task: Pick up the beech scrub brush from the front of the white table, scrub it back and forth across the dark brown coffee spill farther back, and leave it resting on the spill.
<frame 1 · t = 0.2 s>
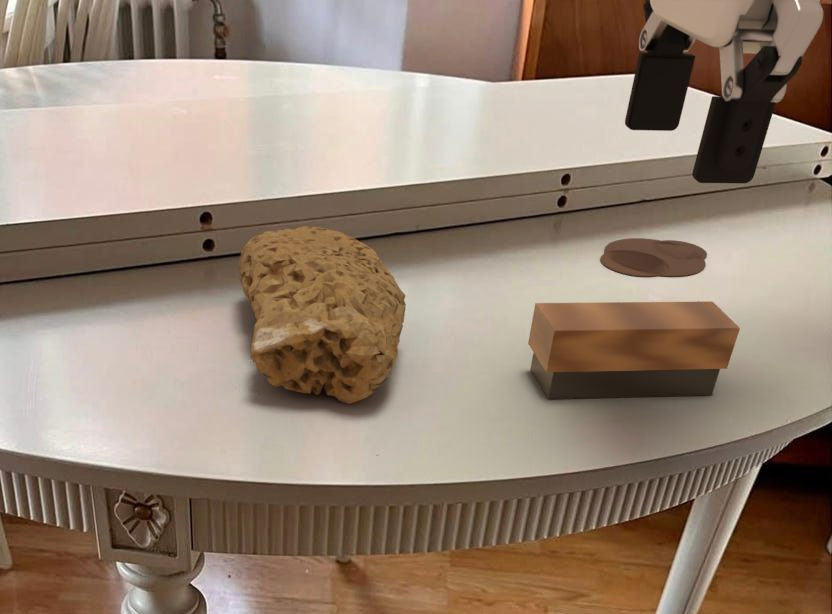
hand: (683, 153, 56), 17 cm above the table, tool pointing down, fingers open, 9 cm apart
sponge: (313, 345, 73), on the table
brush: (620, 382, 71), on the table
coffee spill: (654, 257, 90), on the table
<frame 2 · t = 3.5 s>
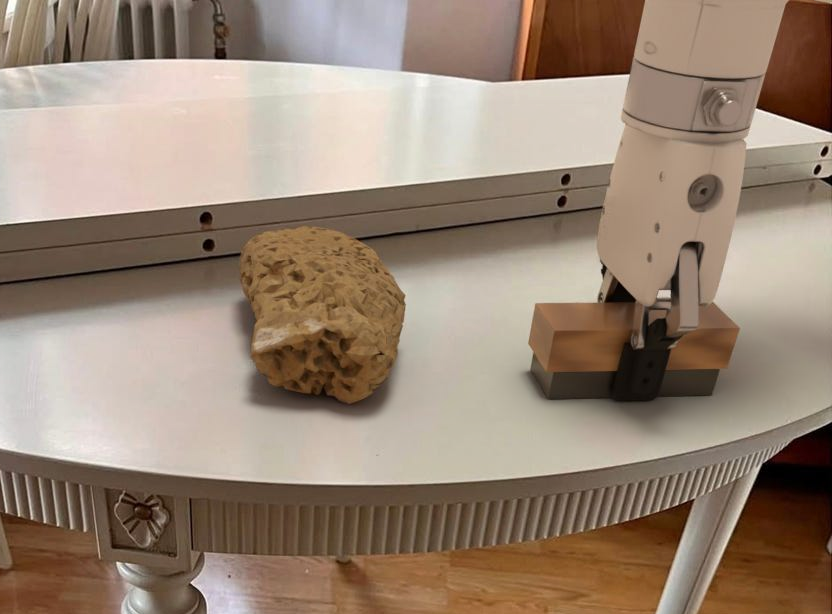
hand: (621, 377, 71), 0 cm above the table, tool pointing down, fingers closed on brush, 4 cm apart
brush: (620, 382, 71), on the table, touching gripper
everything else where it was.
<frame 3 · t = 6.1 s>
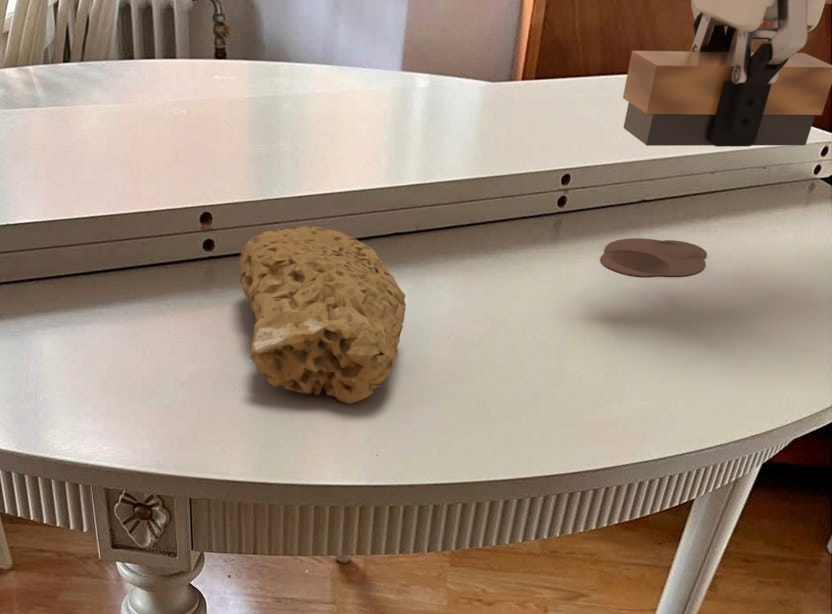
hand: (715, 131, 71), 14 cm above the table, tool pointing down, fingers closed on brush, 4 cm apart
brush: (713, 136, 71), point 14 cm above the table, touching gripper
everything else where it was.
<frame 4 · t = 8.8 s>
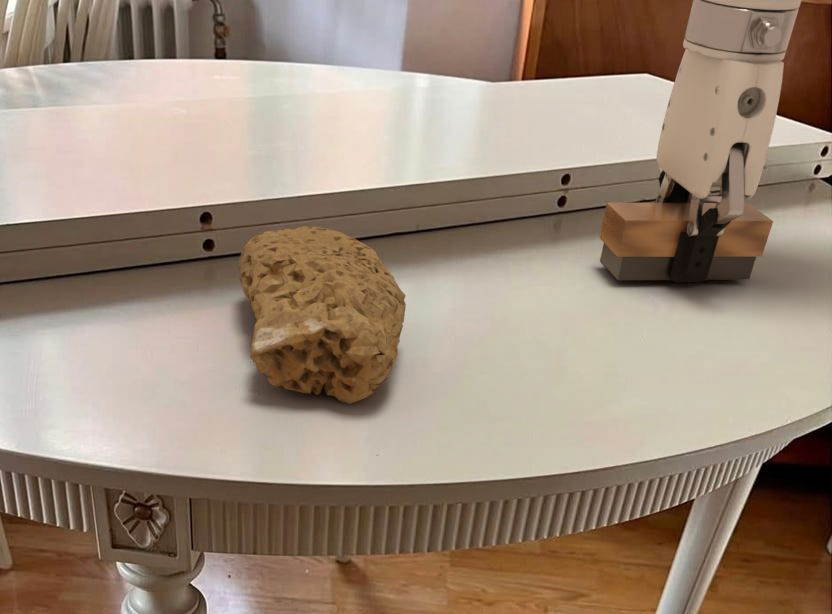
hand: (675, 266, 86), 1 cm above the table, tool pointing down, fingers closed on brush, 4 cm apart
brush: (673, 270, 87), point 1 cm above the table, touching gripper
everything else where it was.
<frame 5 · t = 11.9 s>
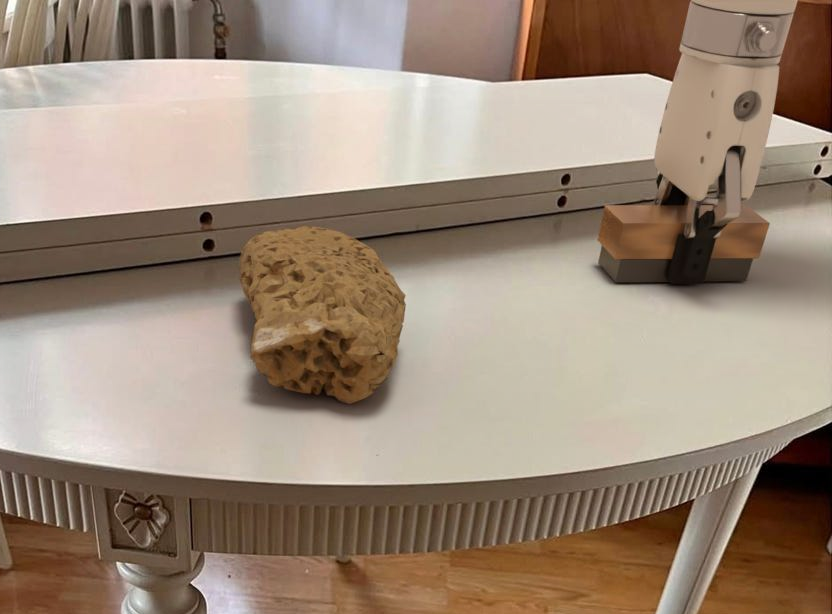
hand: (673, 268, 87), 0 cm above the table, tool pointing down, fingers closed on brush, 4 cm apart
brush: (671, 272, 87), on the table, touching gripper
everything else where it was.
when the fingers open (0 cm above the table, at t = 14.2 s): brush stays where it is, resting on coffee spill.
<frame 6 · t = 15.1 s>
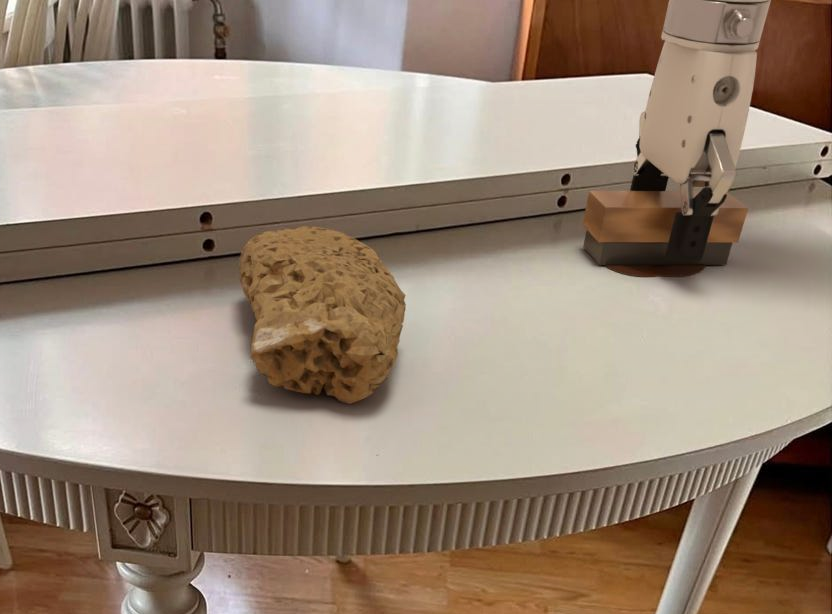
hand: (661, 239, 89), 2 cm above the table, tool pointing down, fingers open, 9 cm apart
brush: (654, 255, 90), resting on coffee spill
everything else where it was.
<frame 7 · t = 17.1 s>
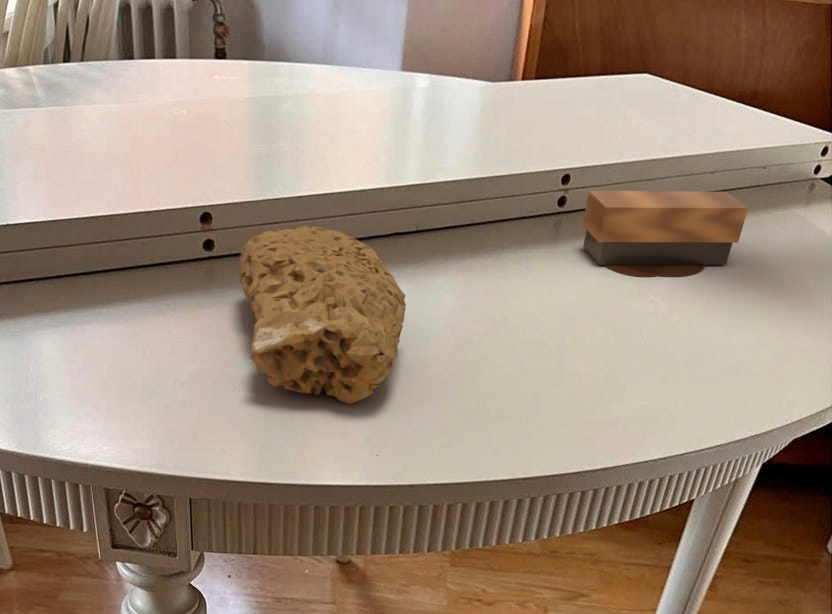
nothing on the table moved.
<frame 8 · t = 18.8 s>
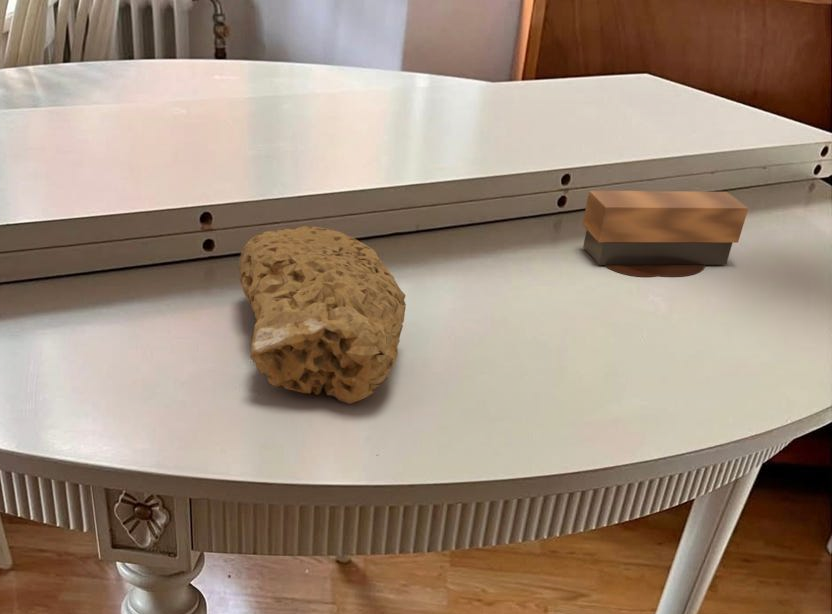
nothing on the table moved.
at the end: brush inside the target area on the coffee spill (0.1 cm from its centre), point 0.1 cm above the coffee spill's base; brush moved 26.4 cm from its start; the gripper is holding nothing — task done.
